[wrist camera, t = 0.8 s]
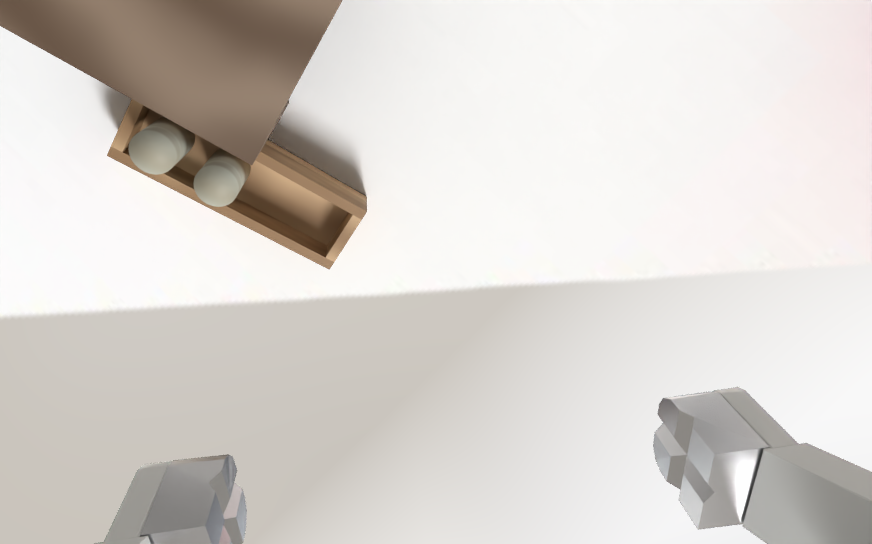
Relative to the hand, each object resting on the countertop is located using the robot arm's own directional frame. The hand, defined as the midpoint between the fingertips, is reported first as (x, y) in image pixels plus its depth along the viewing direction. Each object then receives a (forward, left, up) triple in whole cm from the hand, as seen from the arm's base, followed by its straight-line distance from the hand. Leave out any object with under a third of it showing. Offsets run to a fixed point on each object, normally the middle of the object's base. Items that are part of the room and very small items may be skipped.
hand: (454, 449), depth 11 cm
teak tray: (+11, -6, -38) cm, 40 cm away
